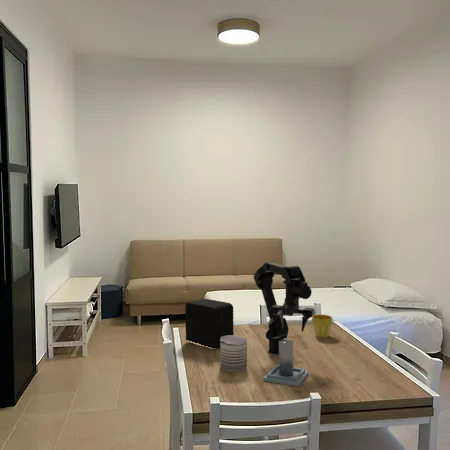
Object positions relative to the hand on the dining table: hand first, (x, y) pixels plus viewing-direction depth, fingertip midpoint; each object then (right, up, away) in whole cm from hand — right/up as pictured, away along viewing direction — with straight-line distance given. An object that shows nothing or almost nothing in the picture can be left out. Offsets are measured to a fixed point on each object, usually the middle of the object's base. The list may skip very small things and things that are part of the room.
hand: (292, 330), depth 211 cm
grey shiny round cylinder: (-5, -13, -20) cm, 24 cm away
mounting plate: (-5, -14, -20) cm, 25 cm away
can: (-26, -14, -7) cm, 30 cm away
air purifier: (-36, -12, +27) cm, 47 cm away
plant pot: (+21, -11, +37) cm, 44 cm away
